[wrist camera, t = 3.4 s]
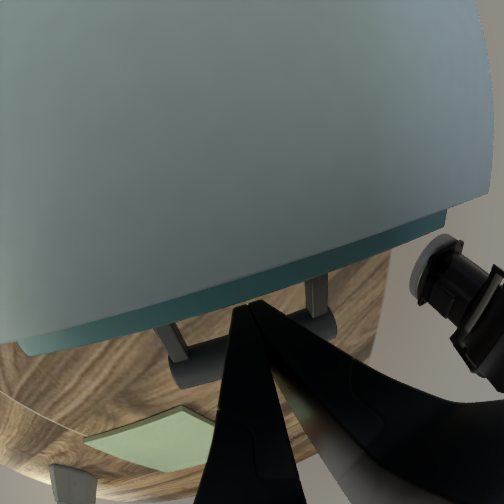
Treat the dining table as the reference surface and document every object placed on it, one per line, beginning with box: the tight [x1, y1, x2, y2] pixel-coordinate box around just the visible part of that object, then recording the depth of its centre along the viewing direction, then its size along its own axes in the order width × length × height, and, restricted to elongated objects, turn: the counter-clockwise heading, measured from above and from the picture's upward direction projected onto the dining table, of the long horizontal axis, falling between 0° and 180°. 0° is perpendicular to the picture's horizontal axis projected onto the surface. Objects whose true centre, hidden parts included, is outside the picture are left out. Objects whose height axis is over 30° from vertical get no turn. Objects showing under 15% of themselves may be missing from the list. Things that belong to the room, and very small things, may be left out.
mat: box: [83, 405, 215, 473], centre depth 22 cm, size 14×14×1 cm
